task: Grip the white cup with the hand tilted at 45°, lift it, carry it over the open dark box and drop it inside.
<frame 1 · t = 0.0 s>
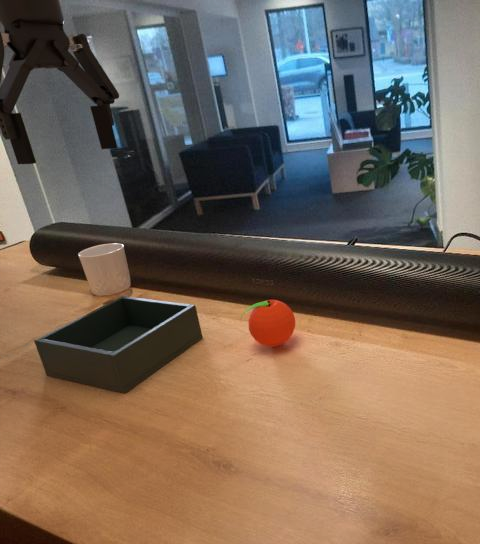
hand: (71, 155, 73), 29 cm above the table, tool pointing down, fingers open, 13 cm apart
white cup: (115, 298, 98), on the table
clementine: (272, 345, 75), on the table
open dark box: (128, 355, 75), on the table
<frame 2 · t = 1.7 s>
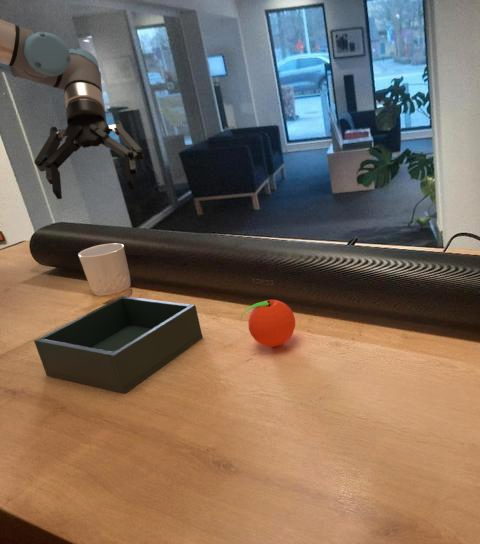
hand: (94, 190, 100), 20 cm above the table, tool tilted 45°, fingers open, 13 cm apart
nothing on the table moved.
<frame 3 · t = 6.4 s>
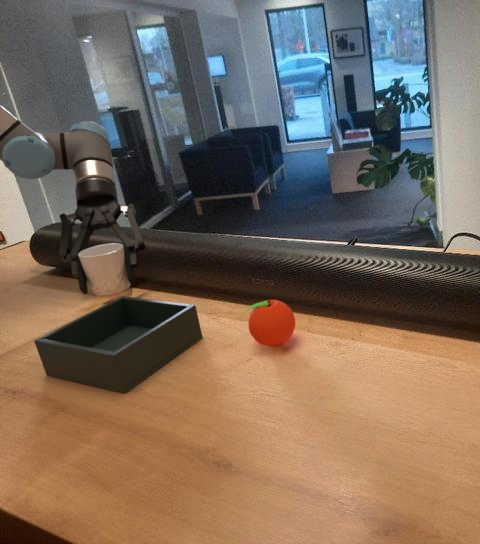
hand: (108, 286, 94), 4 cm above the table, tool tilted 45°, fingers closed on white cup, 8 cm apart
white cup: (114, 298, 98), on the table, touching gripper
everything else where it was.
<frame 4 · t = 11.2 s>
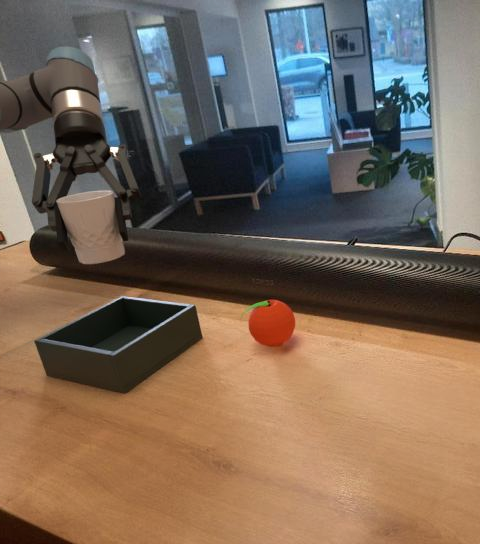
hand: (94, 241, 75), 17 cm above the table, tool tilted 45°, fingers closed on white cup, 8 cm apart
white cup: (103, 258, 79), point 13 cm above the table, touching gripper
everything else where it was.
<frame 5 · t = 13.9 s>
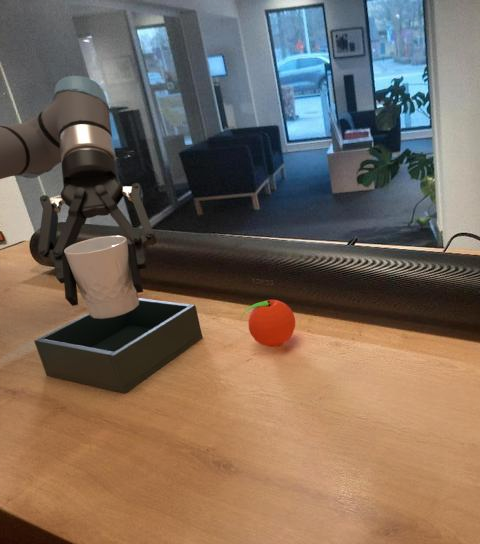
hand: (105, 294, 68), 11 cm above the table, tool tilted 45°, fingers closed on white cup, 8 cm apart
white cup: (115, 310, 72), point 8 cm above the table, touching gripper
everything else where it was.
when the fingers open (4 cm above the table, at t = 16.6 s): white cup stays where it is, resting on open dark box.
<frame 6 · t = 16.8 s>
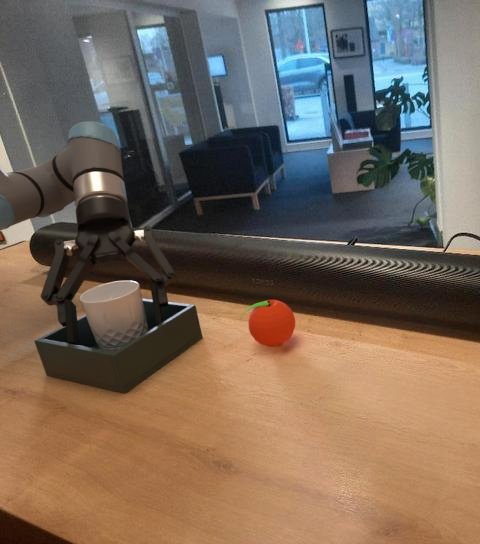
hand: (118, 336, 71), 5 cm above the table, tool tilted 45°, fingers open, 11 cm apart
white cup: (127, 352, 75), point 1 cm above the table, touching open dark box
everything else where it was.
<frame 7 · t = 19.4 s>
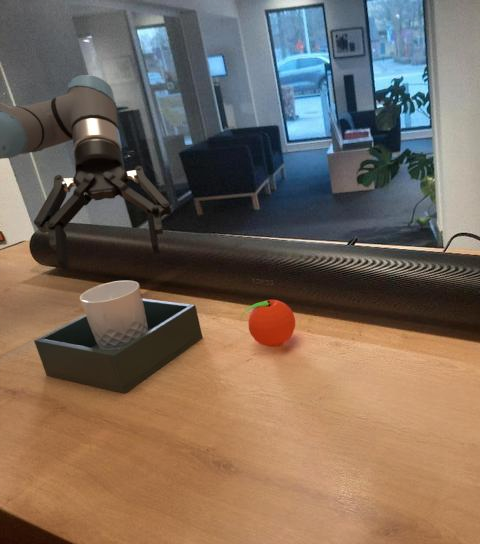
hand: (110, 258, 79), 13 cm above the table, tool tilted 45°, fingers open, 13 cm apart
nothing on the table moved.
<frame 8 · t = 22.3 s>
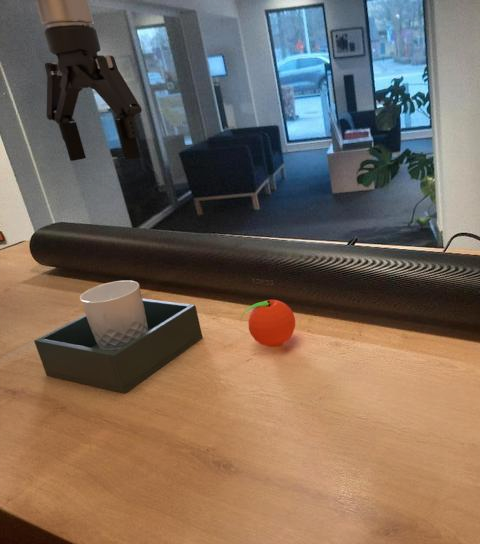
hand: (104, 159, 88), 27 cm above the table, tool pointing down, fingers open, 13 cm apart
nothing on the table moved.
at the end: white cup inside the target area in the open dark box (0.0 cm from its centre), point 0.6 cm above the open dark box's base; the gripper is holding nothing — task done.
